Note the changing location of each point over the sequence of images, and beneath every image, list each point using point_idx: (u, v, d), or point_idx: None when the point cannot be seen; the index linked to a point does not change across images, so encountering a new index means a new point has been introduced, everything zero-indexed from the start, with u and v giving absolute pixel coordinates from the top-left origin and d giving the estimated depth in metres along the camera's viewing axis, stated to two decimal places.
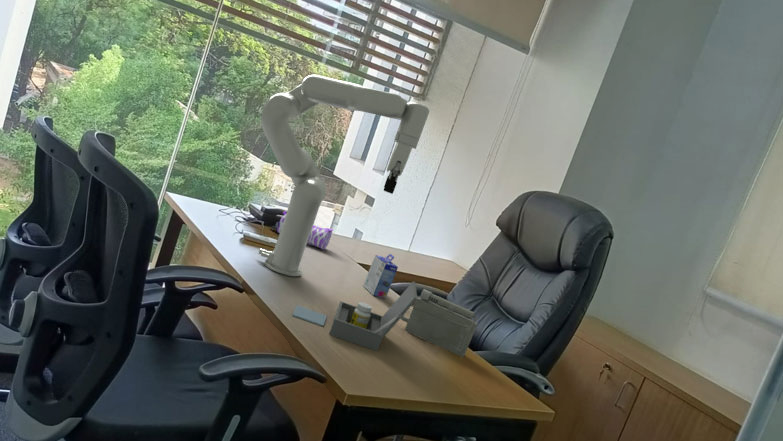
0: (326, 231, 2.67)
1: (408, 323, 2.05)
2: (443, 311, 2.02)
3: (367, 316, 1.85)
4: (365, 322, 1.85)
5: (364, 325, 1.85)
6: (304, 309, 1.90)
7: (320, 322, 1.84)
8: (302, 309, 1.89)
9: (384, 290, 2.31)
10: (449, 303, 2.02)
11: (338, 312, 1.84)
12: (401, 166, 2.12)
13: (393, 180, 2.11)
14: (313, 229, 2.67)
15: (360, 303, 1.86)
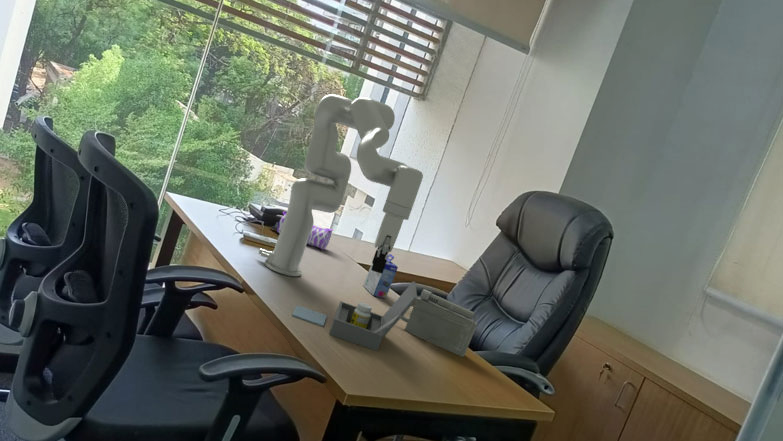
0: (326, 231, 2.67)
1: (408, 323, 2.05)
2: (443, 311, 2.02)
3: (367, 316, 1.85)
4: (365, 322, 1.85)
5: (364, 325, 1.85)
6: (304, 309, 1.90)
7: (320, 322, 1.84)
8: (302, 309, 1.89)
9: (384, 290, 2.31)
10: (449, 303, 2.02)
11: (338, 312, 1.84)
12: (391, 241, 1.80)
13: (382, 258, 1.80)
14: (313, 229, 2.67)
15: (360, 303, 1.86)
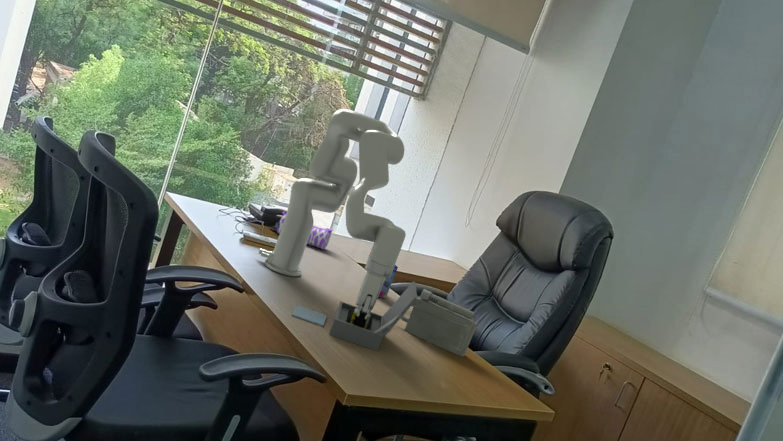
0: (326, 231, 2.67)
1: (408, 323, 2.05)
2: (443, 311, 2.02)
3: (367, 316, 1.85)
4: None
5: None
6: (304, 309, 1.90)
7: (320, 322, 1.84)
8: (302, 309, 1.89)
9: (384, 290, 2.31)
10: (449, 303, 2.02)
11: (338, 312, 1.84)
12: (372, 300, 1.81)
13: (362, 318, 1.83)
14: (314, 229, 2.67)
15: None
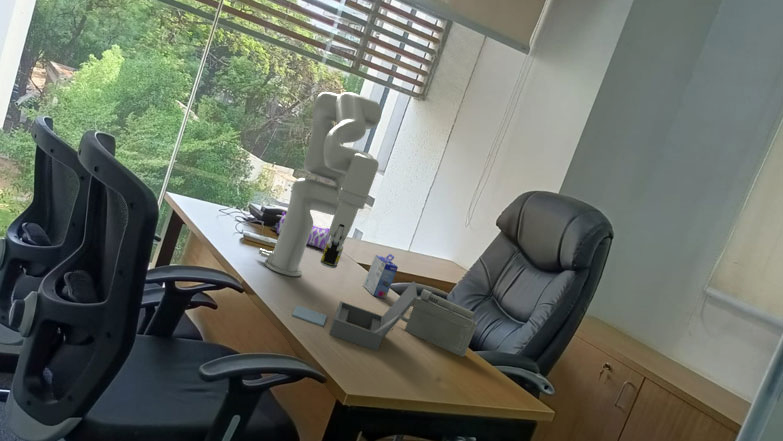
0: (327, 231, 2.67)
1: (408, 323, 2.05)
2: (443, 311, 2.02)
3: (340, 248, 1.82)
4: (338, 254, 1.82)
5: (337, 257, 1.83)
6: (304, 309, 1.90)
7: (320, 322, 1.84)
8: (302, 309, 1.89)
9: (384, 290, 2.31)
10: (449, 303, 2.02)
11: (338, 312, 1.84)
12: (344, 230, 1.78)
13: (334, 249, 1.80)
14: (314, 229, 2.67)
15: None
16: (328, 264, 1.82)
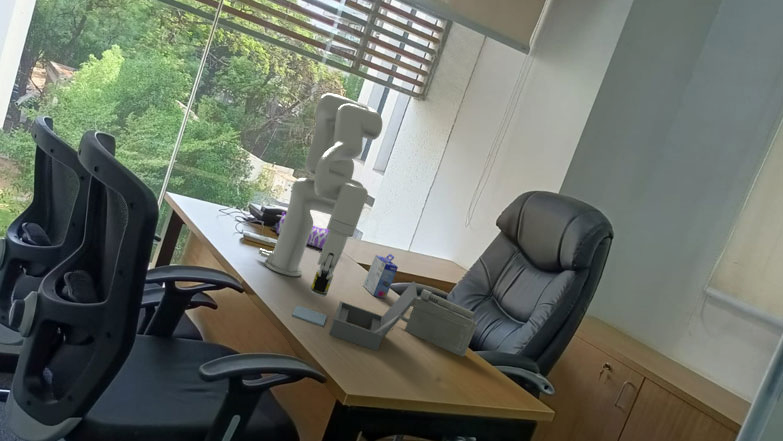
0: (326, 231, 2.67)
1: (408, 323, 2.05)
2: (443, 311, 2.02)
3: (329, 276, 1.83)
4: (328, 282, 1.83)
5: (327, 285, 1.84)
6: (304, 309, 1.90)
7: (320, 322, 1.84)
8: (302, 309, 1.89)
9: (384, 290, 2.31)
10: (449, 303, 2.02)
11: (338, 312, 1.84)
12: (334, 259, 1.79)
13: (324, 278, 1.81)
14: (314, 229, 2.66)
15: None
16: (318, 292, 1.83)
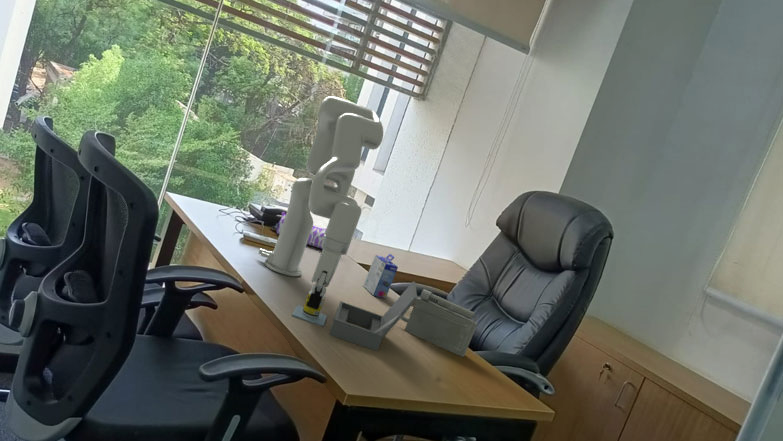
0: None
1: (408, 323, 2.05)
2: (443, 311, 2.02)
3: None
4: None
5: None
6: None
7: (320, 322, 1.84)
8: (302, 309, 1.89)
9: (384, 290, 2.31)
10: (449, 303, 2.02)
11: (338, 312, 1.84)
12: (328, 277, 1.80)
13: (317, 295, 1.81)
14: (314, 230, 2.66)
15: (314, 285, 1.86)
16: (310, 314, 1.85)
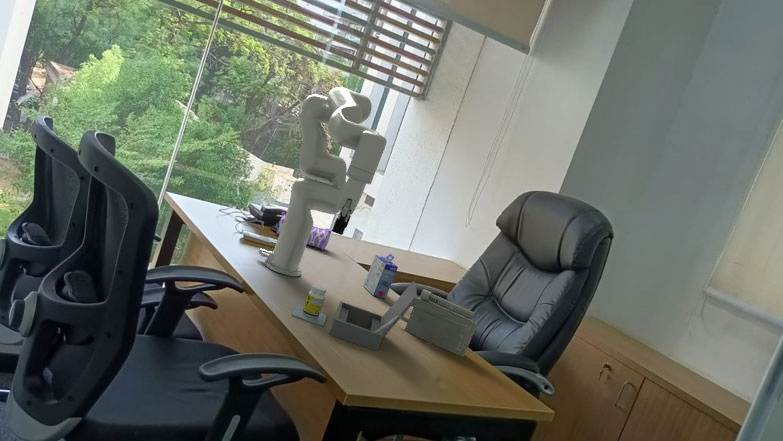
0: (327, 232, 2.66)
1: (408, 323, 2.05)
2: (443, 311, 2.02)
3: (321, 298, 1.84)
4: (319, 304, 1.85)
5: (318, 307, 1.85)
6: None
7: (320, 322, 1.84)
8: (302, 309, 1.89)
9: (384, 290, 2.31)
10: (449, 303, 2.02)
11: (338, 312, 1.84)
12: (352, 204, 1.86)
13: (342, 220, 1.86)
14: (314, 230, 2.66)
15: (314, 285, 1.86)
16: (310, 314, 1.85)
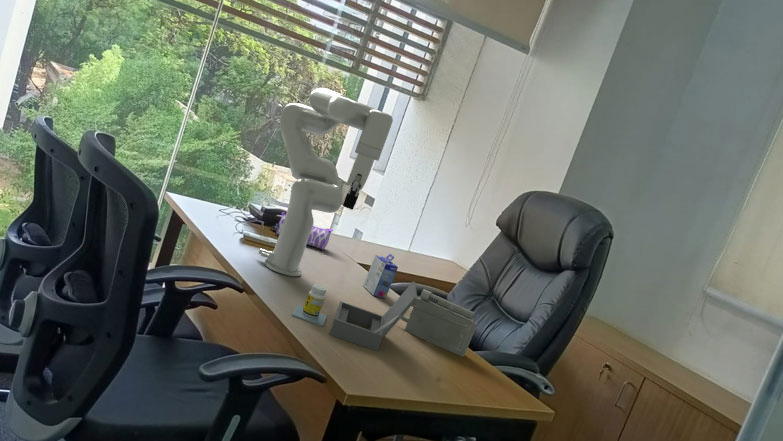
0: (327, 232, 2.66)
1: (408, 323, 2.05)
2: (443, 311, 2.02)
3: (321, 298, 1.84)
4: (319, 304, 1.85)
5: (318, 307, 1.85)
6: None
7: (320, 322, 1.84)
8: (302, 309, 1.89)
9: (384, 290, 2.31)
10: (449, 303, 2.02)
11: (338, 312, 1.84)
12: (362, 180, 1.94)
13: (353, 195, 1.94)
14: (314, 230, 2.66)
15: (314, 285, 1.86)
16: (310, 314, 1.85)
